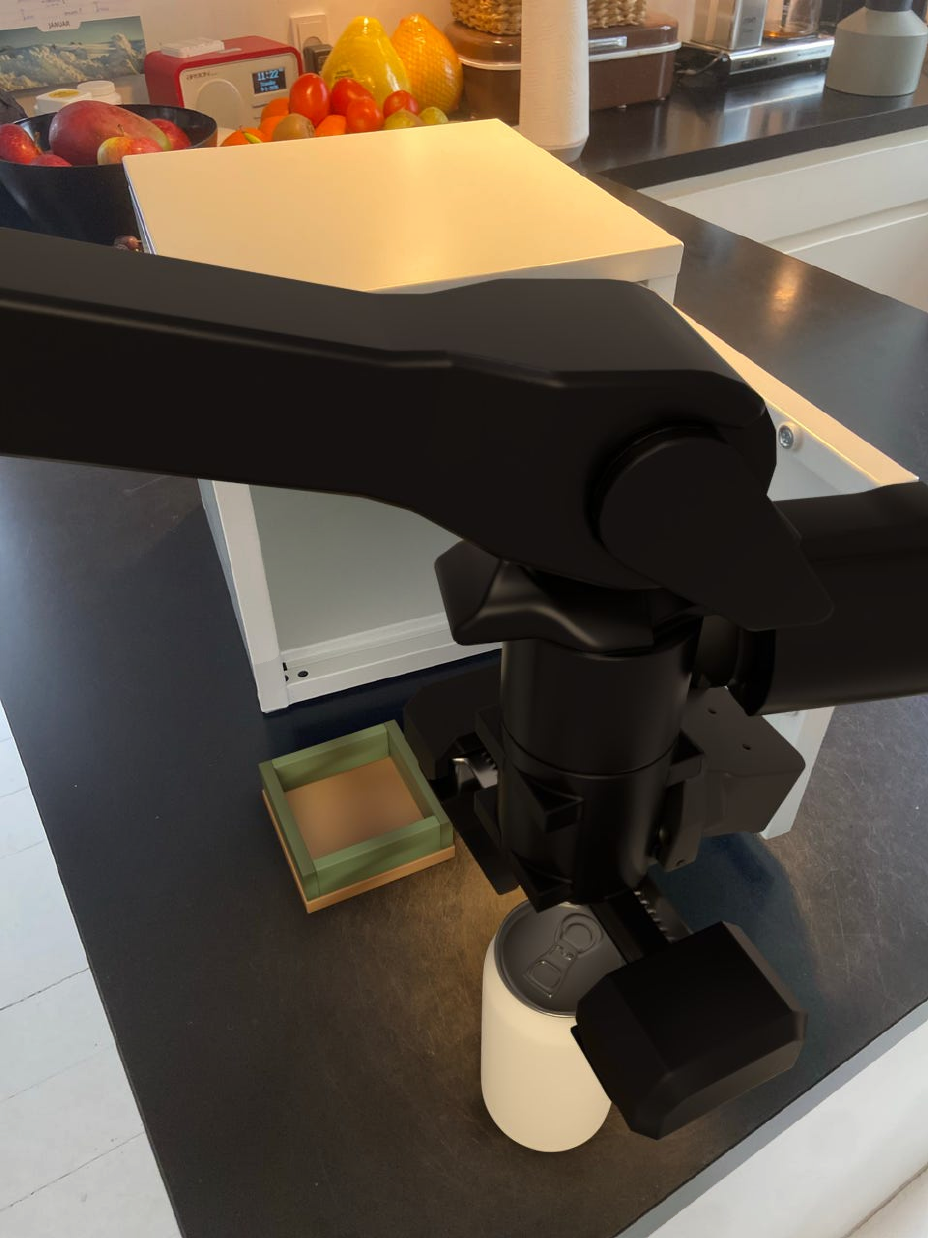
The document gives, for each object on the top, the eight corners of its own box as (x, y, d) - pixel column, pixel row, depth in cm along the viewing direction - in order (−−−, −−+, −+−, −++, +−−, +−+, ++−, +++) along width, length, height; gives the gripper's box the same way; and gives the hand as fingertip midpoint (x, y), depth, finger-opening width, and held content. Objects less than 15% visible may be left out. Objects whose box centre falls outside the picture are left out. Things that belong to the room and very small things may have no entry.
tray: (308, 914, 53) (301, 878, 51) (263, 799, 59) (255, 763, 57) (455, 856, 56) (455, 820, 54) (398, 753, 62) (395, 717, 60)
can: (636, 1076, 45) (670, 941, 38) (562, 1188, 42) (583, 1062, 34) (531, 998, 49) (543, 859, 41) (453, 1095, 45) (451, 961, 37)
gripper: (1019, 838, 25) (862, 1096, 35) (638, 509, 38) (602, 764, 48) (685, 1002, 21) (614, 1240, 31) (390, 576, 35) (405, 837, 44)
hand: (557, 973), depth 39 cm, fingers open, 9 cm apart
